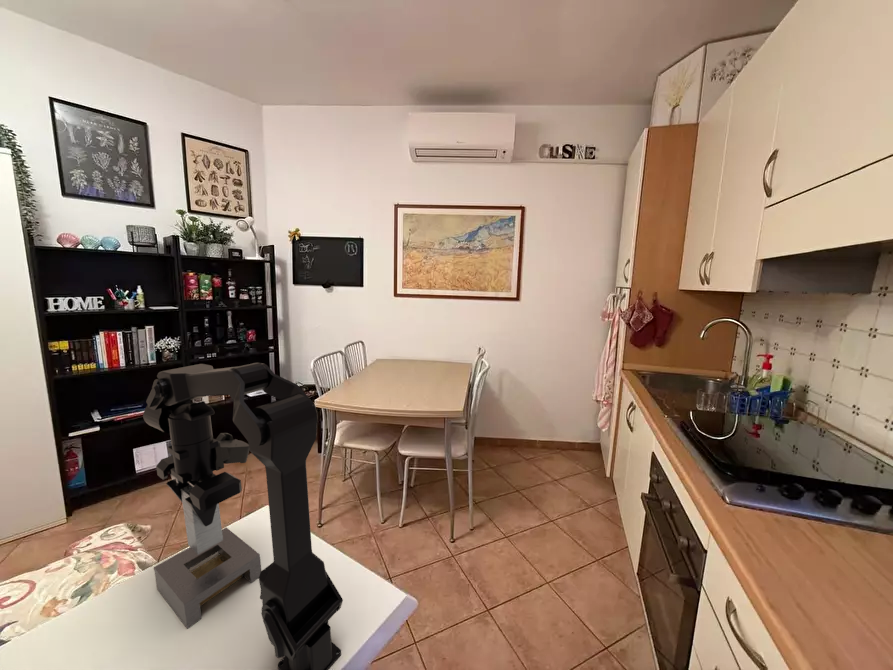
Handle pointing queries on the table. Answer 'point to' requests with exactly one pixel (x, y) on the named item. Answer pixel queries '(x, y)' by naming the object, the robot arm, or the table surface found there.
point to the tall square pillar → (200, 526)
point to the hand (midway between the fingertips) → (202, 520)
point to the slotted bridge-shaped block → (205, 575)
